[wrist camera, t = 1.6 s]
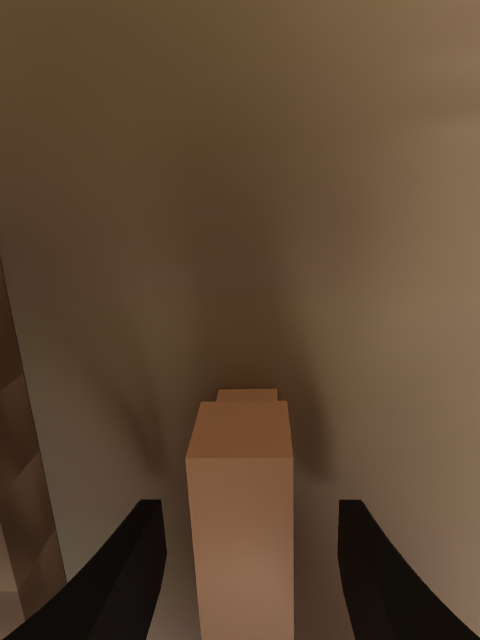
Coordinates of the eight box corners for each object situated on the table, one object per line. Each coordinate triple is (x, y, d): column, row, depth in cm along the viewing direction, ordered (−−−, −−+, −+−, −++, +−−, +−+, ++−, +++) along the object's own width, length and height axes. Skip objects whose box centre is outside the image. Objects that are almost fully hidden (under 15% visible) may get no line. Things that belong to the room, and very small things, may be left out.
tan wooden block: (285, 593, 16) (294, 751, 11) (225, 592, 16) (211, 748, 12) (283, 365, 13) (293, 457, 9) (210, 366, 13) (185, 458, 9)
